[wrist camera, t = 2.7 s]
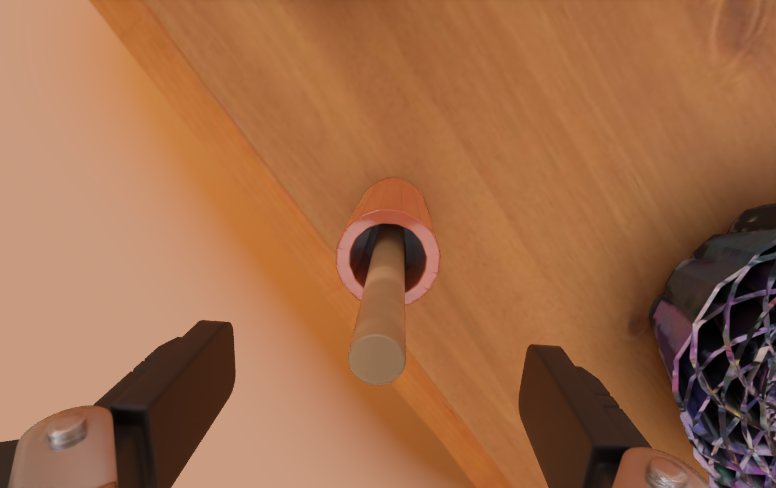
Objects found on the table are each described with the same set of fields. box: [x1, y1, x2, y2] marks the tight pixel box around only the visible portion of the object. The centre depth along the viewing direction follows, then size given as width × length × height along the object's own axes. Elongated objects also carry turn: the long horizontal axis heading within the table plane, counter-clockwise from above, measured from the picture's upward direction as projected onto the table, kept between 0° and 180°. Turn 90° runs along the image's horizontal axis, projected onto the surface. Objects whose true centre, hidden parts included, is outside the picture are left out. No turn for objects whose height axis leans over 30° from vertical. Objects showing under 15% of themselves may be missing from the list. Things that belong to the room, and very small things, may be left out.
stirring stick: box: [348, 223, 406, 385], centre depth 21 cm, size 2×2×20 cm
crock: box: [336, 178, 441, 305], centre depth 25 cm, size 5×5×12 cm
